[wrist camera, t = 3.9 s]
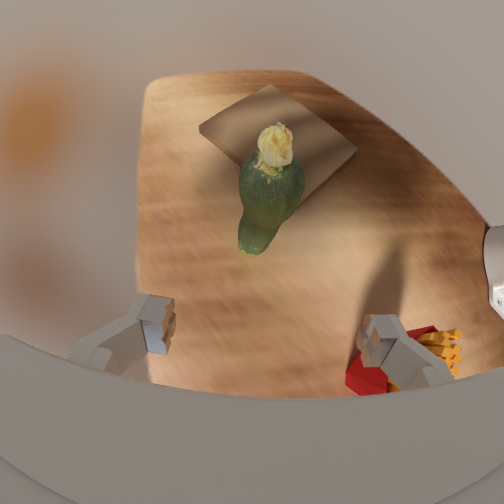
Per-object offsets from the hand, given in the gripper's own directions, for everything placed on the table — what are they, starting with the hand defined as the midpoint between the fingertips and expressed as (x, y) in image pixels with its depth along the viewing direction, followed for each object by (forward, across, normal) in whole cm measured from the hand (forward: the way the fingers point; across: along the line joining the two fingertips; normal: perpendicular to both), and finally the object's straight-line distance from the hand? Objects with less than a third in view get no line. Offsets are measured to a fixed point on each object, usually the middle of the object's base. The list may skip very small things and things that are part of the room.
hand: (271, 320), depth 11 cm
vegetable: (+19, 0, +6) cm, 20 cm away
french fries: (+10, -14, +16) cm, 23 cm away
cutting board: (+30, -2, -5) cm, 30 cm away
